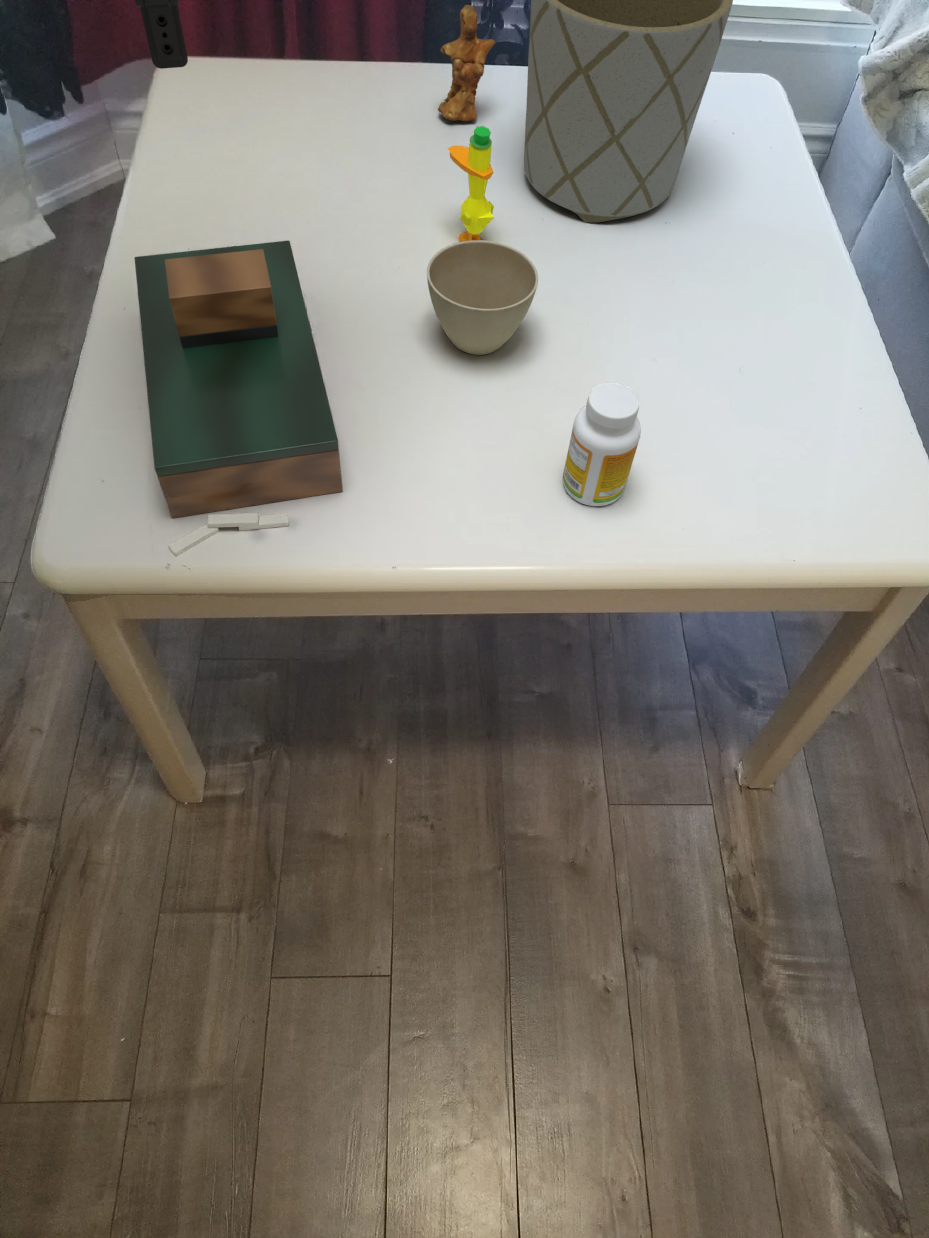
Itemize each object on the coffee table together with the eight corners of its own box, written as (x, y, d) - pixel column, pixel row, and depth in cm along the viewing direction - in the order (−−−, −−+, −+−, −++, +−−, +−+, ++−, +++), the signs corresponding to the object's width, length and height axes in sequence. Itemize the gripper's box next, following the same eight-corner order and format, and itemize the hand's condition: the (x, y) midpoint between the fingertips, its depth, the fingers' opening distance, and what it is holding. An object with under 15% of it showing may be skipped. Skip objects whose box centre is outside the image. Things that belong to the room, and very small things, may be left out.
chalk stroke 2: (207, 514, 73) (209, 518, 74) (206, 524, 73) (208, 528, 73) (258, 512, 73) (259, 516, 74) (257, 522, 73) (258, 526, 73)
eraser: (270, 299, 80) (263, 248, 76) (278, 336, 78) (271, 286, 73) (177, 310, 79) (164, 259, 75) (182, 348, 76) (169, 298, 72)
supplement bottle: (630, 470, 79) (656, 386, 71) (616, 515, 76) (640, 432, 68) (571, 453, 80) (589, 368, 72) (554, 497, 77) (571, 413, 69)
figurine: (479, 133, 107) (486, 21, 97) (432, 123, 108) (435, 11, 98) (490, 114, 110) (498, 3, 100) (445, 104, 110) (448, -7, 100)
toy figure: (435, 230, 97) (438, 116, 86) (460, 218, 98) (466, 104, 88) (478, 262, 94) (486, 148, 84) (503, 248, 95) (514, 135, 85)
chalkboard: (171, 518, 74) (154, 468, 69) (150, 311, 87) (134, 256, 82) (342, 491, 76) (338, 441, 71) (296, 294, 90) (289, 239, 85)
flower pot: (510, 385, 84) (517, 322, 78) (409, 355, 86) (409, 291, 80) (542, 319, 90) (552, 256, 84) (447, 293, 91) (450, 228, 85)
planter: (716, 199, 102) (776, 1, 86) (583, 252, 96) (620, 50, 79) (609, 118, 110) (644, -77, 94) (480, 162, 104) (493, -39, 87)
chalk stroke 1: (167, 545, 72) (169, 549, 72) (174, 553, 72) (176, 557, 72) (211, 520, 74) (212, 524, 74) (218, 528, 73) (219, 531, 74)
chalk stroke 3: (237, 517, 74) (238, 521, 74) (238, 527, 73) (239, 531, 74) (287, 512, 74) (288, 516, 75) (288, 522, 74) (289, 526, 74)
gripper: (20, -345, 50) (103, -13, 64) (18, -262, 43) (112, 93, 56) (160, -344, 51) (212, -20, 65) (182, -264, 44) (235, 84, 58)
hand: (166, 32), depth 61 cm, fingers open, 8 cm apart
